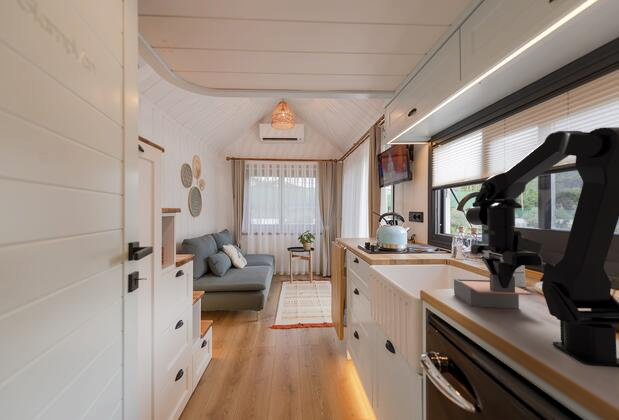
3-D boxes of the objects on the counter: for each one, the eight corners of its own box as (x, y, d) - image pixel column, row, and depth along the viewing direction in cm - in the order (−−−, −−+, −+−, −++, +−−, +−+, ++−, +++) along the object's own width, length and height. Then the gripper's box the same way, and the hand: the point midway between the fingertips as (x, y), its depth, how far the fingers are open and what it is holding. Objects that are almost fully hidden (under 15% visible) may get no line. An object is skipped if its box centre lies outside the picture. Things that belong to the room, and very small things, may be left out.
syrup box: (526, 287, 85) (525, 245, 86) (507, 286, 86) (506, 245, 87) (516, 283, 91) (515, 243, 91) (498, 282, 92) (497, 243, 92)
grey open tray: (518, 308, 66) (518, 289, 66) (470, 306, 67) (470, 287, 67) (495, 296, 76) (495, 280, 76) (454, 294, 77) (453, 278, 77)
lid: (532, 294, 61) (532, 277, 61) (479, 292, 63) (478, 275, 63) (504, 283, 71) (504, 268, 72) (459, 282, 73) (459, 267, 73)
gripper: (569, 228, 53) (571, 300, 53) (510, 225, 72) (511, 278, 71) (512, 228, 55) (514, 298, 54) (469, 225, 73) (470, 277, 73)
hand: (502, 286), depth 63 cm, fingers closed on lid, 2 cm apart
